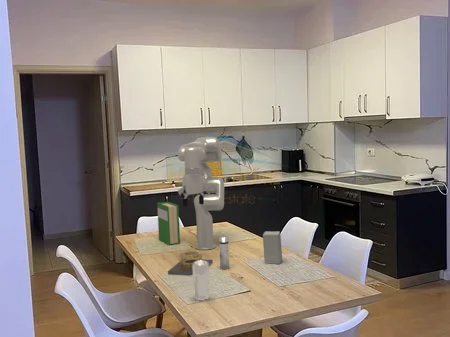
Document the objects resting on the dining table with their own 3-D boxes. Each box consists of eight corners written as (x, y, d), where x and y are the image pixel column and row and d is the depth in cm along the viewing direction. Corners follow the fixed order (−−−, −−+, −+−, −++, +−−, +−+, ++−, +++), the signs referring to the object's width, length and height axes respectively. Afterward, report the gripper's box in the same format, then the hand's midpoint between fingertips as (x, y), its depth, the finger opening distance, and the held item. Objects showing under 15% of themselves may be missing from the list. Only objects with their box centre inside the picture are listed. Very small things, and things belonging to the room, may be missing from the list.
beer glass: (193, 295, 190) (191, 260, 188) (209, 294, 190) (208, 259, 189) (193, 301, 183) (192, 265, 181) (210, 300, 183) (209, 264, 182)
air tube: (221, 267, 228) (220, 235, 227) (230, 267, 227) (229, 236, 225) (219, 269, 223) (217, 238, 222) (228, 270, 222) (226, 238, 221)
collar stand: (183, 261, 240) (183, 247, 240) (212, 262, 236) (212, 248, 235) (168, 274, 219) (167, 259, 218) (199, 276, 215) (198, 260, 214)
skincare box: (282, 261, 235) (281, 231, 233) (279, 265, 228) (278, 234, 227) (266, 260, 238) (265, 230, 236) (263, 263, 231) (262, 233, 230)
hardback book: (180, 243, 278) (178, 205, 276) (168, 245, 275) (167, 206, 273) (169, 238, 294) (168, 201, 292) (159, 239, 290) (157, 202, 288)
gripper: (202, 170, 238) (203, 202, 239) (173, 172, 227) (175, 206, 228) (210, 171, 232) (211, 204, 233) (181, 173, 221) (182, 208, 222)
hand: (193, 205), depth 231 cm, fingers open, 9 cm apart
